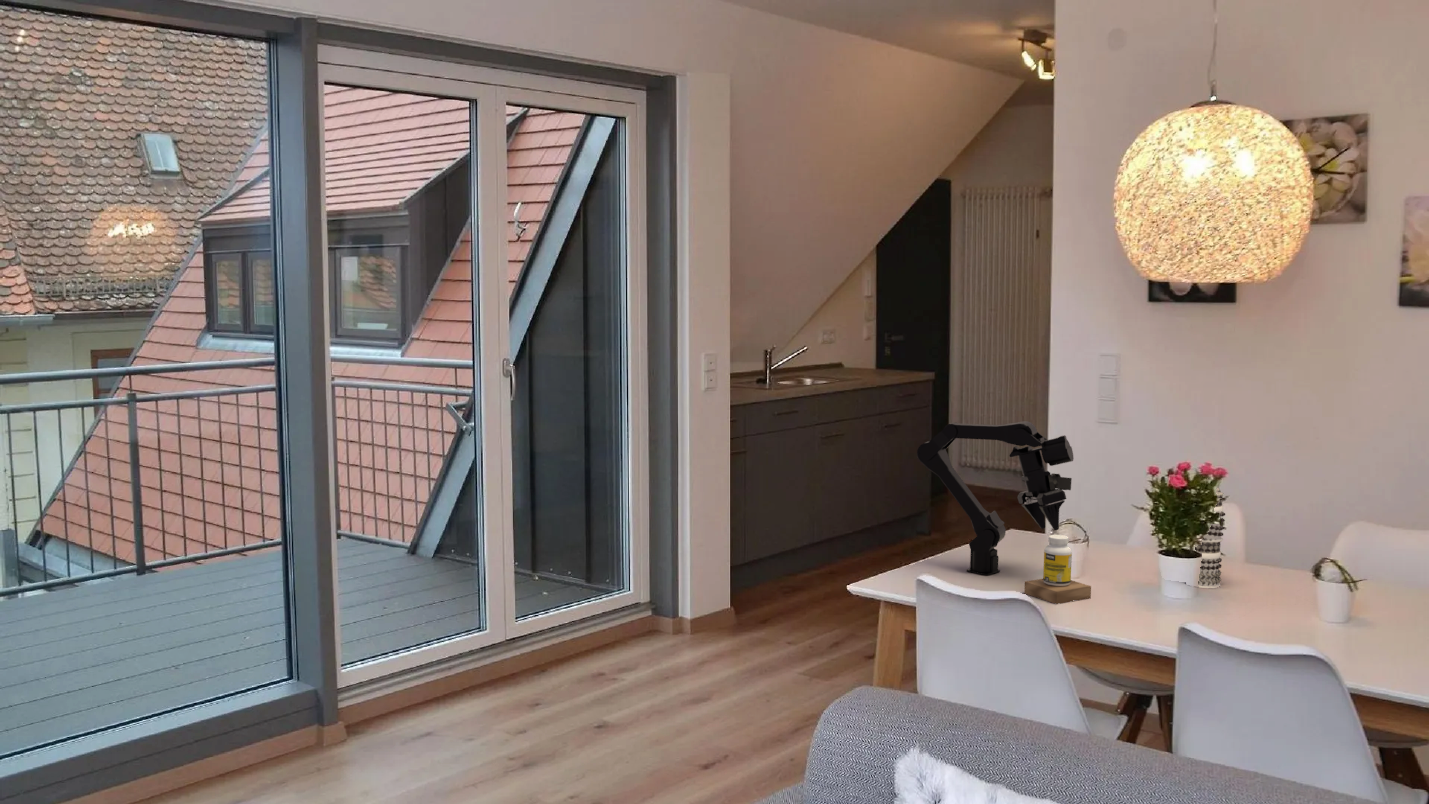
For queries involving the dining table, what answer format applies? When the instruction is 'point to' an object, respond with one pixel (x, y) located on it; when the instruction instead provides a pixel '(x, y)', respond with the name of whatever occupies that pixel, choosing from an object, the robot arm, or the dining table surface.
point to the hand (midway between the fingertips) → (1049, 529)
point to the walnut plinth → (1057, 591)
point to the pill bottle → (1057, 561)
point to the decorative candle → (1211, 552)
